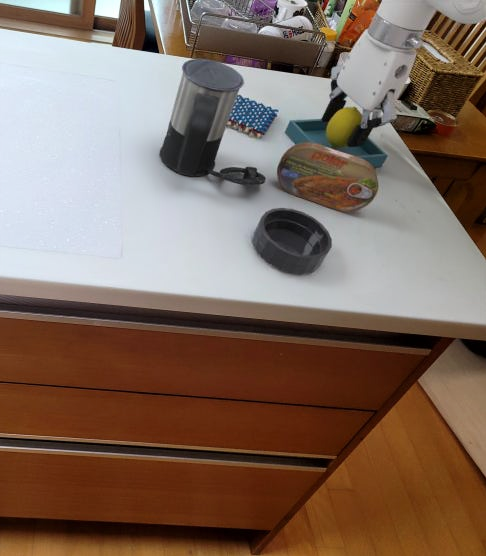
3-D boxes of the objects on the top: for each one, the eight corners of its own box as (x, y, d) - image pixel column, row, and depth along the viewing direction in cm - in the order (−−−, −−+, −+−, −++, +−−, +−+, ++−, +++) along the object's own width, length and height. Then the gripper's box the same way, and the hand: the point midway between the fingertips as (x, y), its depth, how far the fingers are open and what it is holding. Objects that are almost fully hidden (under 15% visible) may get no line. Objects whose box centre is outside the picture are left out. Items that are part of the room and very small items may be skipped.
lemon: (354, 152, 98) (377, 112, 93) (335, 159, 96) (357, 118, 90) (331, 136, 101) (352, 96, 95) (312, 142, 98) (332, 101, 93)
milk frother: (155, 140, 91) (176, 54, 80) (243, 148, 94) (276, 66, 83) (169, 195, 82) (195, 105, 71) (267, 201, 84) (307, 116, 74)
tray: (341, 128, 105) (347, 117, 103) (381, 167, 97) (388, 155, 96) (284, 132, 100) (289, 120, 98) (321, 172, 93) (328, 160, 91)
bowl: (296, 222, 82) (305, 204, 80) (334, 270, 76) (346, 252, 73) (239, 230, 79) (247, 211, 76) (274, 280, 73) (285, 262, 70)
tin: (268, 186, 87) (289, 141, 81) (271, 176, 90) (292, 131, 84) (361, 219, 85) (389, 176, 79) (362, 208, 87) (389, 165, 81)
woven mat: (224, 97, 106) (228, 88, 104) (276, 118, 103) (280, 108, 102) (206, 119, 99) (209, 109, 97) (261, 142, 96) (265, 132, 95)
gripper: (452, 59, 80) (388, 161, 92) (377, 8, 90) (329, 106, 103) (413, 59, 77) (353, 164, 90) (341, 7, 88) (297, 107, 100)
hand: (341, 132), depth 96 cm, fingers open, 7 cm apart
